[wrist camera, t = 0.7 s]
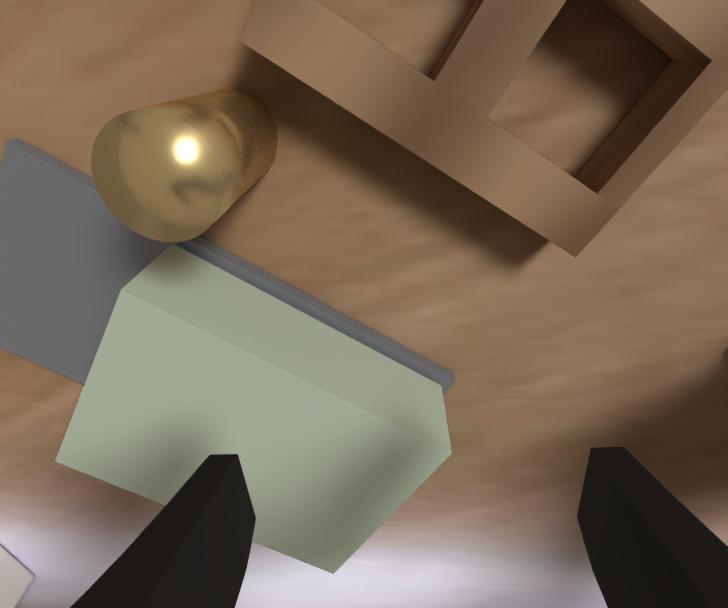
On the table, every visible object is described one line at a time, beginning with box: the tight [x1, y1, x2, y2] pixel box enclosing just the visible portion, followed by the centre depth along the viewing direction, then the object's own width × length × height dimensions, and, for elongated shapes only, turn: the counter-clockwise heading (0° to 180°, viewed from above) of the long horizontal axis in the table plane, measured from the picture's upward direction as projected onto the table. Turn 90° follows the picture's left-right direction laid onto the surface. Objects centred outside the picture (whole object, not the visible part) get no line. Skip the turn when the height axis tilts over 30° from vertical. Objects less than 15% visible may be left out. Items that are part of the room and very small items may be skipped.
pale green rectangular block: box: [55, 244, 452, 574], centre depth 18 cm, size 12×8×4 cm
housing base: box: [0, 138, 455, 394], centre depth 19 cm, size 18×9×3 cm, turn 59°
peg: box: [91, 89, 278, 242], centre depth 13 cm, size 3×3×6 cm
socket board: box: [240, 0, 728, 257], centre depth 13 cm, size 12×8×2 cm, turn 59°
